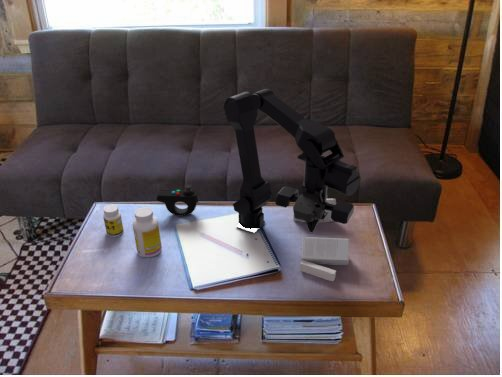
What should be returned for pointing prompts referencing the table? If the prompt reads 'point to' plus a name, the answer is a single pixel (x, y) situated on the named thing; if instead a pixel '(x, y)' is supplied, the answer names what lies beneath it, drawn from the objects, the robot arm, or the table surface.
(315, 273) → the u rest
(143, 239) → the supplement bottle
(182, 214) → the controller
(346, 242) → the skincare box
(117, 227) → the supplement bottle
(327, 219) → the cassette
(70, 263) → the table surface
